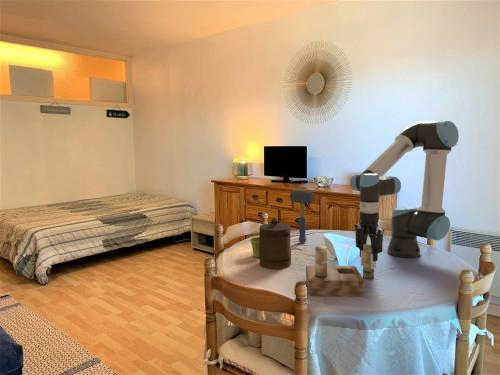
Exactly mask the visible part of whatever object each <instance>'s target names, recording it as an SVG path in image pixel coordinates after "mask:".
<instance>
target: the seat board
mask: <svg viewBox="0 0 500 375" xmlns="http://www.w3.org/2000/svg"><path fill="white" fill-rule="evenodd" d="M314 249H315V252H314V253H315V254H314V257H315V260H314V261H315V264H314V265H306V266H305V279H306V280H305V281H307V282H306V286H307V291H308V296H310V297H364V296H365V279H364V278H363V275H362V274H360V272H359V270H358V267H357V266H356V265H328V247H327V246H324V245H317V246H315V247H314Z"/></svg>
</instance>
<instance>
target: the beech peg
mask: <svg viewBox="0 0 500 375" xmlns="http://www.w3.org/2000/svg"><path fill="white" fill-rule="evenodd" d="M371 253H372V248H371V242H370V243H367V242H366V243H365V244H363V266H362V278H363V279H364V280H365V279H366V280H373V279H375V268H374V269H370V259H371Z"/></svg>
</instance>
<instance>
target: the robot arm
mask: <svg viewBox="0 0 500 375" xmlns="http://www.w3.org/2000/svg"><path fill="white" fill-rule="evenodd" d="M458 142H459V130H458V127H457V126H456V124H455V123H454V122H453V121H450V120H433V121H419V122H416V123H413V124H412V125H410V126H408V127H406V128H405V129H403V130H402V131H401V132H400V133H399V134H398V135H396V137H395V138H394V141H393V143H391V144H390V145H389V146H388V147H387V148H386V149H385V150H384V151H383V152H382V153H381V154H380V155H379V156H378V157H377V158H375V159H374V161H372V163H371V164H370V165H368V167H366V168H365V170H364V171H363V172H361V173H360V174H359V173H358V174H352V175H351V177H350V179H349V186H350V188H351V189H352V190H353V191H357V192H359V221H360V222H359V223H356V224H354V229H355V248H358V250H359V257H360V266H362V267H363V244H365V243H367V241H368V237H369V240H370V244H371V248H372V253H371V259H370V269H374V270H375V269H377V262H378V260H379V256H378V255H379V254H381V253H383V245H384V243H383V242H384V241H383V240H384V238H383V237H384V234H385V233H384V232H385V229H384V228H380V227H379V226H380V225H379V220H380V218H379V217H380V213H379V211H380V197H382V196H391V195H395V194H398V193H399V192H400V191H401V188H402V183H401V180H400V179H399V178H398V177H396V176H384V175H386V173H388V171H389V170H391V168H393V167H394V166H395V164H396V163H397V162H399V161H400V160H401V159H402V157H404V156H405V155H406V154H407V153H410V152H412V151H413V150H414V149H415V148H416V149H417V148H419V147H422V151H423V152H424V153H425V161H424V172H423V173H424V174H423V184H422V185H423V186H422V195H421V205H420V206H419V207H415V206H404V207H396V208H394V209H392V212H391V235H390V236H391V238H390V240H389V242H388V245H387V253H388V254H389V255H390V256H391V255H392V256H394V257H399V258H410V259H411V258H416V257H419V256H420V255H421V249H420V246H419V243H418V239H417V237H420V238H422V239H423V238H424V239H427V240H429V241H431V240H433V241H441V240H443V239H444V238H445V237H446V236H447V235H448V233H449V231H450V228H451V221H450V219H449V217H448V216H446V211H445V209H444V208H443V201H444V200H443V199H444V189H445V180H446V179H445V178H446V167H447V160H448V159H447V157H448V154H450V153H451V152H452V148H454V147H456V145H458V144H457V143H458Z"/></svg>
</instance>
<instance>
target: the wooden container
mask: <svg viewBox="0 0 500 375" xmlns="http://www.w3.org/2000/svg"><path fill="white" fill-rule="evenodd" d="M258 229H259V234H258V235H259V236H258V237H259V266H260V267H262V268H265V269H267V270H268V269H269V270H282V269H286V268H288V267H290V266H291V265H292V245H291V244H292V242H291V239H292V238H291V225H289V224H286V223H282V222H281V223H280V221H279V219H278V218H277V217H273V218H272V219H271V220H270V222H269V223H268V222H267V223H264V224H261V225H259V228H258Z"/></svg>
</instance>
